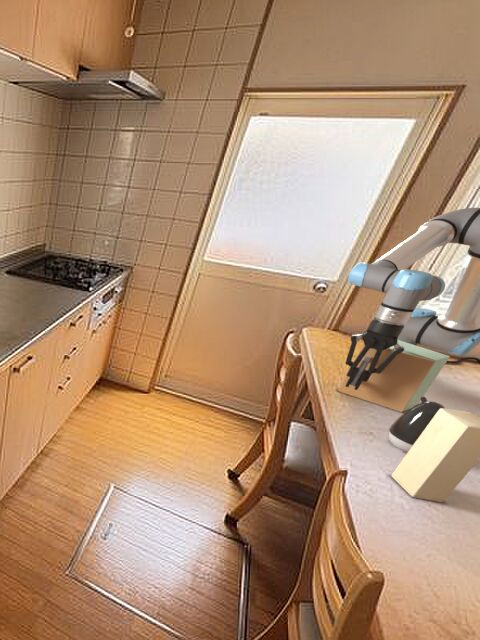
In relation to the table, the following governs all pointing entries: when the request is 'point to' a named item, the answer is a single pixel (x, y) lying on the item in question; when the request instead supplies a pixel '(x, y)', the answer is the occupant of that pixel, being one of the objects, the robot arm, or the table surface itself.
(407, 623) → the table surface
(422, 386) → the box
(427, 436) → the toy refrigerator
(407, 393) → the cooler door
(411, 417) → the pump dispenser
